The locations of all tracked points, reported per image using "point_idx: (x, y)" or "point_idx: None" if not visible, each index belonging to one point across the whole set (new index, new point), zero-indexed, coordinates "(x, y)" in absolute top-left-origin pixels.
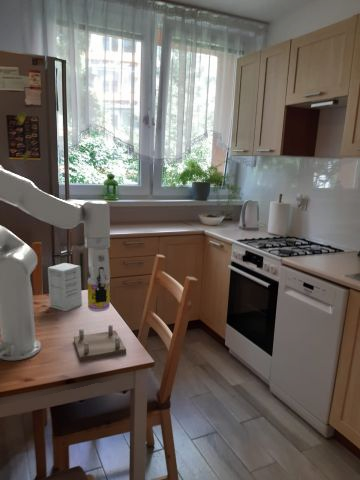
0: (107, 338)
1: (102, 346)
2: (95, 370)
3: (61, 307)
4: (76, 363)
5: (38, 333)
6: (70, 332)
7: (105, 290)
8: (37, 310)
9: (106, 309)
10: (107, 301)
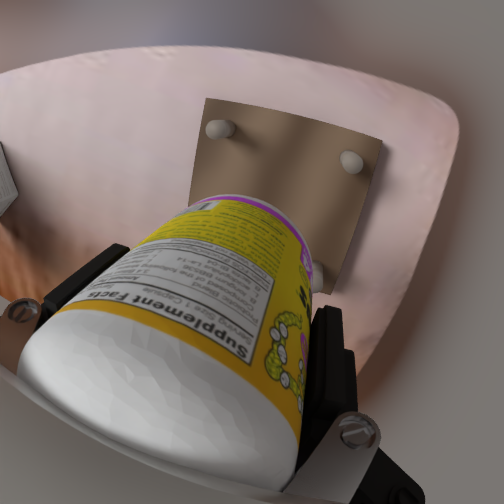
0: (256, 156)
1: (309, 203)
2: (401, 273)
3: (7, 204)
4: (330, 297)
5: None
6: (128, 231)
7: (339, 393)
8: (9, 250)
9: (307, 247)
10: (302, 265)
